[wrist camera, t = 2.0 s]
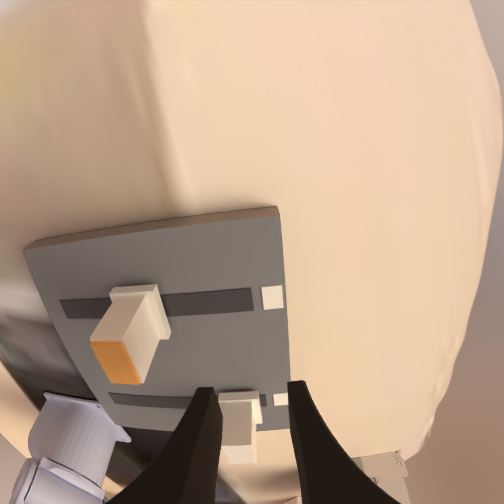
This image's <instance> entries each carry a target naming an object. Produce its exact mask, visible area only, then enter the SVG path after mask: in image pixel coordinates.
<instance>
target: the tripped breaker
mask: <svg viewBox="0 0 504 504" xmlns="http://www.w3.org/2000/svg"><path fill="white" fill-rule="evenodd" d="M109 295H110V298H111V301H112V304H111V306H110V307H109V309H108V310H107V312H106V313H105V315H104V316H103V318H102V319H101V321H100V322H99V324H98V325H97V327H96V328H95V330H94V332H93V333H92V335H91V336H90V340H91V342H92V343H91V344H90V345H91V347H92V349H93V351H94V353H95V355H96V357H97V359H98V361H99V362H100V364H101V366H102V368H103V370H104V371H105V373H106V375H107V377H108V379H109V380H110V382H111V383H118V384H132V385H140V383H144V381H145V378H146V376H147V373H148V370H149V367H150V364H151V362H152V359H153V356H154V353H155V351H156V348H157V345H158V343H159V340H166V339H169V337H170V334H171V329H170V326H169V323H168V320H167V317H166V314H165V310H164V307H163V304H162V301H161V297H160V294H159V291H158V287H157V284H151V285H138V286H124V287H114V288H113V289H112V290H111V292H110V293H109Z"/></svg>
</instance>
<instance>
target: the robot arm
mask: <svg viewBox="0 0 504 504" xmlns="http://www.w3.org/2000/svg"><path fill="white" fill-rule="evenodd" d="M287 391H288V411H289V422H290V433H291V438H292V443H293V448H294V453H295V458H296V463H297V468H298V473H299V478H300V485H301V496H302V504H401V503H400V502H398V501H397V500H395V499H394V498H393V497H391V496H390V495H389V494H387V493H386V492H385V491H384V490H383V489H381V488H380V487H379V486H378V485H377V484H375V483H374V482H373V481H372V480H371V479H370V478H369V477H368V476H367V475H366V474H365V473H364V472H363V471H362V470H361V469H360V468H359V467H358V466H357V465H356V464H355V462H354V461H353V460H352V459H351V458H350V457H349V456H348V454H347V453H346V452H345V451H344V449H343V448H342V447H341V446H340V444H339V443H338V442H337V440H336V439H335V437H334V436H333V434H332V433H331V431H330V430H329V428H328V427H327V425H326V424H325V422H324V420H323V418H322V417H321V415H320V413H319V412H318V410H317V408H316V406H315V404H314V402H313V400H312V398H311V395H310V393H309V391H308V388H307V385H306V382H305V381H303V380H300V381H291V382H287ZM44 396H45V398H46V399H47V400H46V402H45V404H44V406H43V408H42V410H41V411H40V413H39V415H38V417H37V419H36V421H35V423H34V425H33V427H32V429H31V431H30V433H29V437H28V448H29V451H30V454H31V456H32V458H27V459H26V461H25V462H24V464H23V466H22V468H21V470H20V473H19V475H18V477H17V479H16V482H15V485H14V488H13V491H12V497H11V499H10V502H9V504H215V487H216V477H217V470H218V463H219V456H220V449H221V442H222V421H223V415H222V412H221V409H220V406H219V403H218V400H217V397H216V394H215V391H214V388H213V387H198V388H197V389H196V391H195V393H194V395H193V397H192V399H191V401H190V403H189V405H188V407H187V409H186V411H185V413H184V415H183V416H182V418H181V420H180V421H179V423H178V425H177V427H176V428H175V430H174V431H173V433H172V434H171V436H170V437H169V439H168V440H167V442H166V443H165V445H164V446H163V448H162V449H161V450H160V452H159V453H158V454H157V455H156V457H155V458H154V459H153V460H152V461H151V463H150V464H149V465H148V466H147V467H146V468H145V469H144V470H143V471H142V473H141V474H140V475H139V476H138V477H137V478H136V479H135V480H134V481H132V482H131V483H130V484H129V485H128V486H127V487H126V488H124V489H123V490H122V491H121V492H120V493H118V494H117V495H116V496H115V497H113V498H112V499H110V500H109V501H108V499H107V498H106V497H104V495H105V492H106V491H105V490H103V489H101V487H102V483H103V480H104V477H105V473H106V470H107V467H108V464H109V460H110V457H111V454H112V451H113V448H114V445H115V442H116V440H117V441H123V442H131V438H130V437H129V436H128V434H127V433H126V432H125V430H124V429H123V428H122V426H118V425H115V424H114V422H113V421H112V420H111V418H110V417H109V415H108V414H107V413H106V411H105V410H104V408H103V407H102V406H101V404H100V403H99V401H92V400H85V399H79V398H73V397H68V396H62V395H57V394H52V393H48V392H45V393H44Z"/></svg>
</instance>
